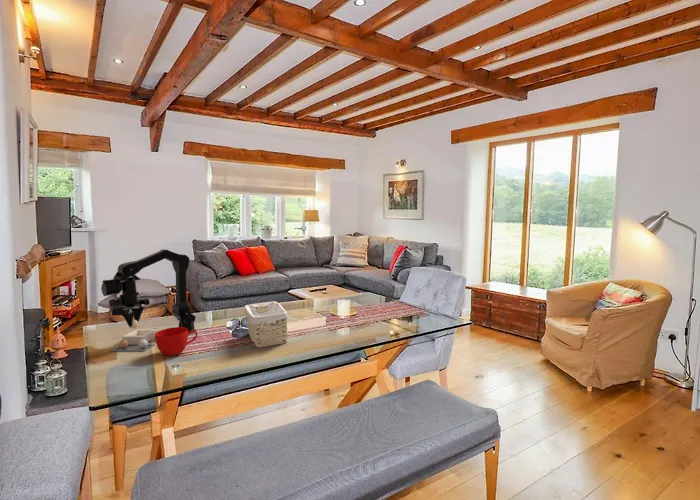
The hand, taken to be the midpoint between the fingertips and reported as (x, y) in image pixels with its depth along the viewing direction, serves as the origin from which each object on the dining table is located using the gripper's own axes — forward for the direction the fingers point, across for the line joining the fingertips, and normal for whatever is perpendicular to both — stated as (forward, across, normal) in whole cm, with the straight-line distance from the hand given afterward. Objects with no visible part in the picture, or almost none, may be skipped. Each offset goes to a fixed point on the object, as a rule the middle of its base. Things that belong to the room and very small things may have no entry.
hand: (133, 325), depth 186 cm
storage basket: (+12, -12, +58) cm, 60 cm away
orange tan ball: (+10, +2, -5) cm, 11 cm away
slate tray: (+11, +2, 0) cm, 11 cm away
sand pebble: (+2, 0, 0) cm, 2 cm away
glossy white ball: (+10, +2, +5) cm, 11 cm away
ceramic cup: (+11, +6, +24) cm, 27 cm away
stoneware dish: (+11, -9, -4) cm, 15 cm away
